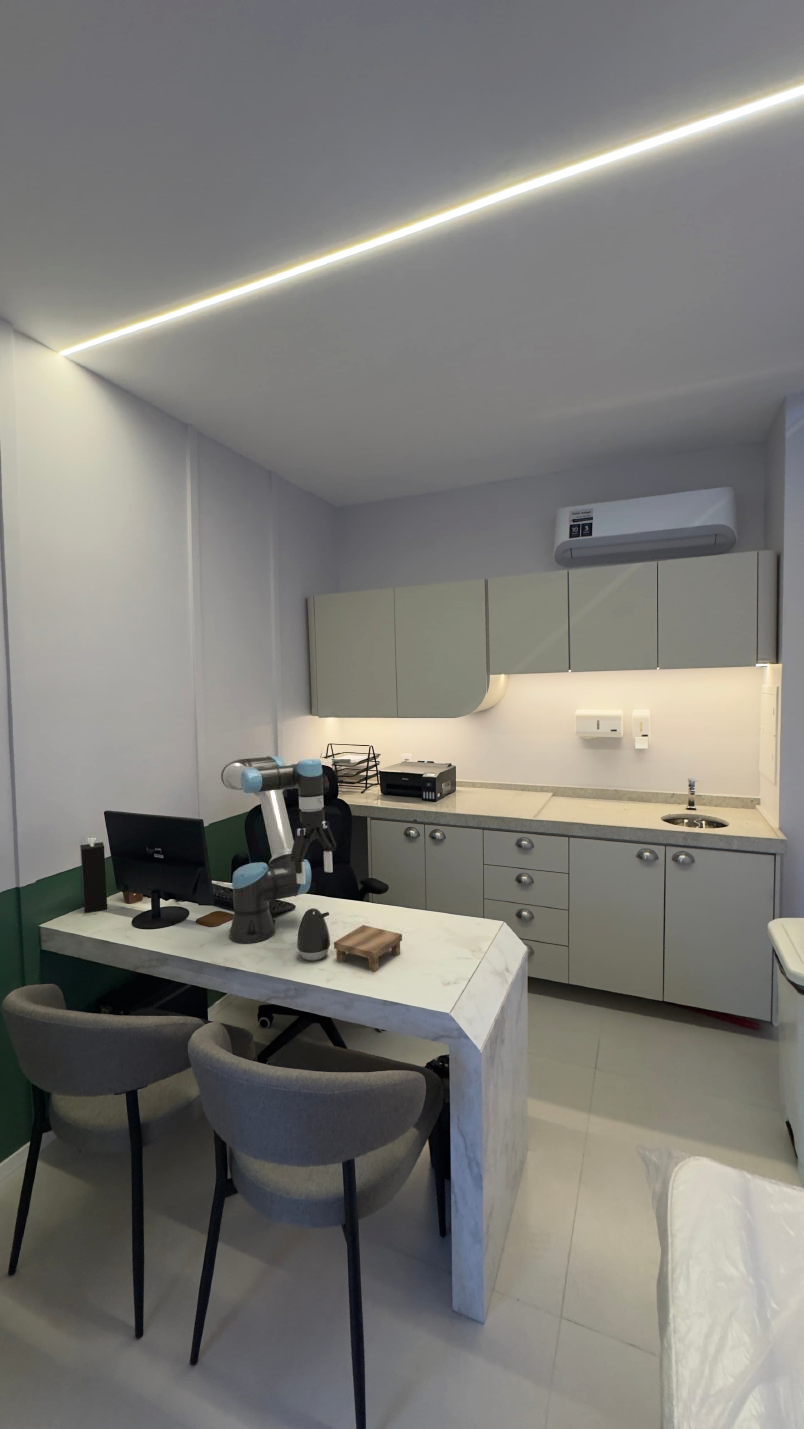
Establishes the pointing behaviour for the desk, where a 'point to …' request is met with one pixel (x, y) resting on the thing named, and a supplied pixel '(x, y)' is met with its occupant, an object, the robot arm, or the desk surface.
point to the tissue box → (93, 876)
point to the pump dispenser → (313, 935)
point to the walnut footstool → (368, 944)
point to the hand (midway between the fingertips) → (315, 877)
